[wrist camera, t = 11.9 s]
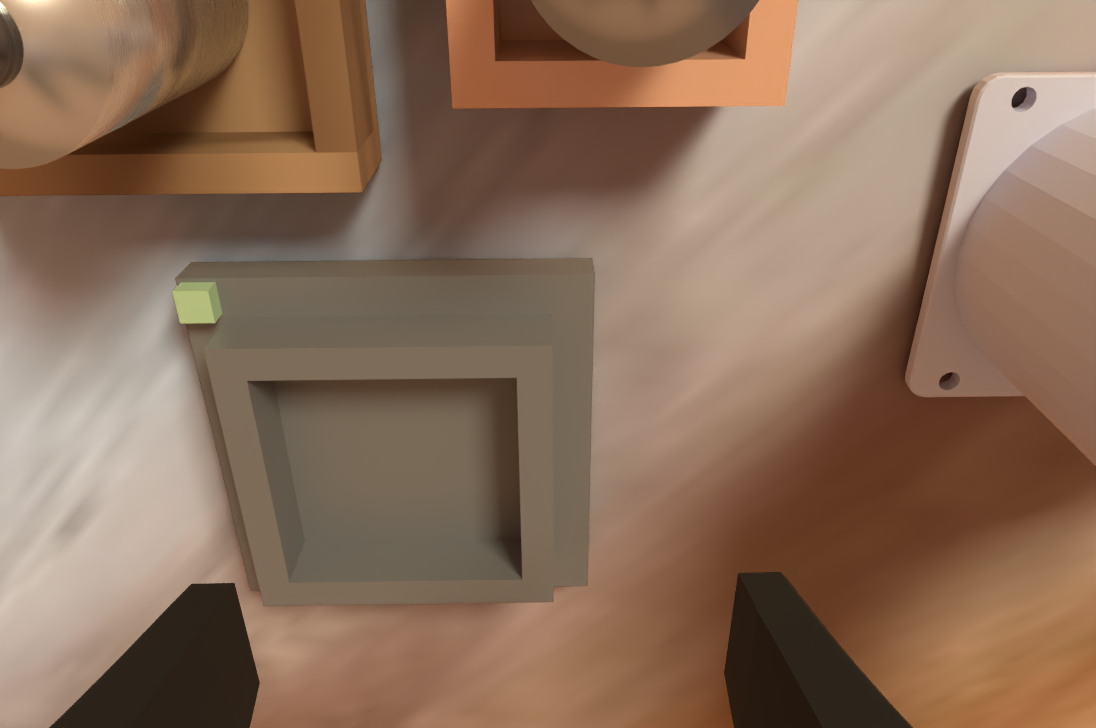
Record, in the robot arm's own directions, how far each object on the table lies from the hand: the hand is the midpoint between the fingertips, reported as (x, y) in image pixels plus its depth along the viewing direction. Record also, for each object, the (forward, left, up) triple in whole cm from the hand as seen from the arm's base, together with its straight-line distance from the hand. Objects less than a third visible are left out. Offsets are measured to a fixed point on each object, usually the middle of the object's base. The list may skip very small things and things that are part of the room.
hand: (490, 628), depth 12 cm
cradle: (+3, +3, -10) cm, 11 cm away
